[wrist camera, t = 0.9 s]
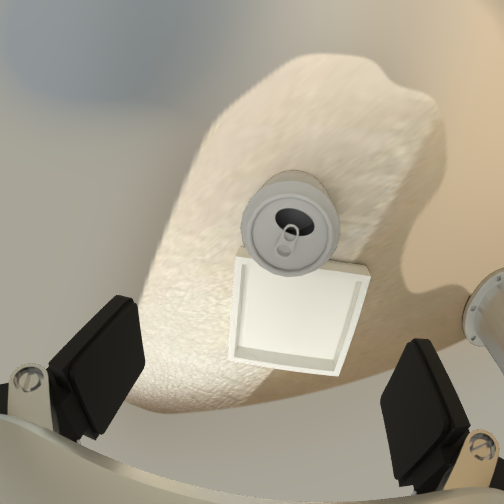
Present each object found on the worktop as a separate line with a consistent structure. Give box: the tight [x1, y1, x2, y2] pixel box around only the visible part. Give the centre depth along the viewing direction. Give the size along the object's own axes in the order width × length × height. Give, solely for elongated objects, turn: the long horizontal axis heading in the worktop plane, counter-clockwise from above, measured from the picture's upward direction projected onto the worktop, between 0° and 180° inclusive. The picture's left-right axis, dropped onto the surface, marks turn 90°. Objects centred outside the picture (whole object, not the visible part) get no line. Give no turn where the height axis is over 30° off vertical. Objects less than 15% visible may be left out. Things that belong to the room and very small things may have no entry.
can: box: [241, 170, 340, 277], centre depth 26 cm, size 8×8×12 cm
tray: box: [228, 247, 371, 376], centre depth 35 cm, size 15×15×3 cm
